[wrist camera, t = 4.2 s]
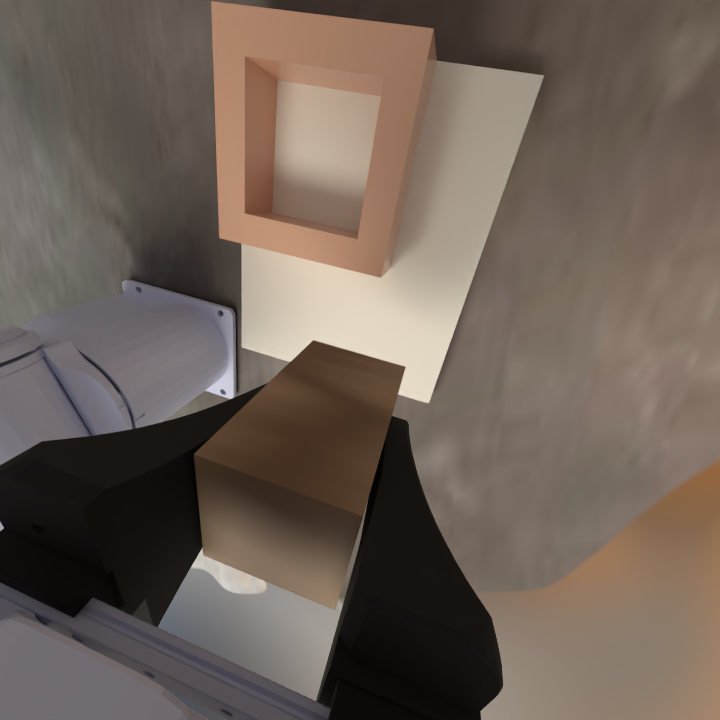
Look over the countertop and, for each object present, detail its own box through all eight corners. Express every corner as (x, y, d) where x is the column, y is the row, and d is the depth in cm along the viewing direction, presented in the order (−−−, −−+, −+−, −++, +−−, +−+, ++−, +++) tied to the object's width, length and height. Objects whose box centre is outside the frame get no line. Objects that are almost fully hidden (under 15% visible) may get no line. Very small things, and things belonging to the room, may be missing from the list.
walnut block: (304, 414, 15) (203, 555, 9) (313, 340, 13) (193, 454, 7) (384, 440, 14) (334, 610, 8) (405, 366, 13) (362, 516, 6)
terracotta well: (248, 234, 19) (219, 238, 17) (250, 35, 15) (211, 1, 12) (390, 268, 18) (380, 277, 15) (436, 60, 14) (434, 28, 11)
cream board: (249, 342, 24) (241, 347, 23) (252, 43, 16) (241, 33, 15) (429, 395, 22) (428, 403, 21) (538, 83, 14) (544, 75, 13)
